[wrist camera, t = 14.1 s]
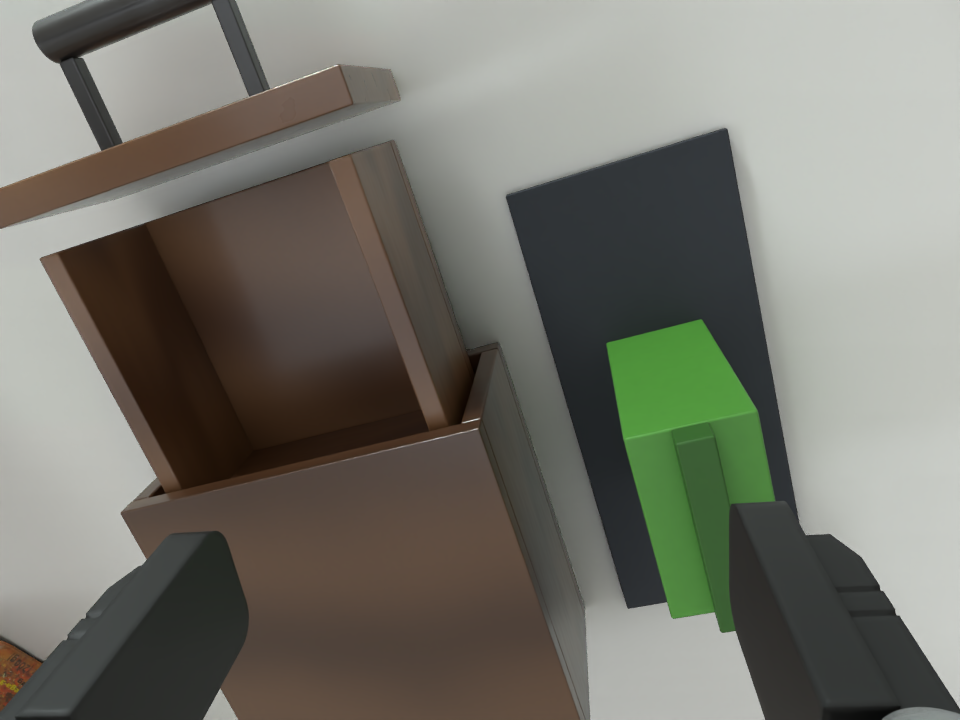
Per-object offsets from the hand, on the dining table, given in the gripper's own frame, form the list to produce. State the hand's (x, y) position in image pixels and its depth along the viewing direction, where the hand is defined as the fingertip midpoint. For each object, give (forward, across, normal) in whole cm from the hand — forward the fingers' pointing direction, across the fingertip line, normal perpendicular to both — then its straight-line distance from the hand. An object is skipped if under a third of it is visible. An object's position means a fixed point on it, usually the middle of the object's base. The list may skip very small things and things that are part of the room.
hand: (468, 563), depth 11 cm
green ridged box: (+20, -6, +8) cm, 22 cm away
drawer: (+20, +10, -2) cm, 22 cm away
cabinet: (+20, +7, +13) cm, 25 cm away
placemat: (+20, -6, +7) cm, 23 cm away
